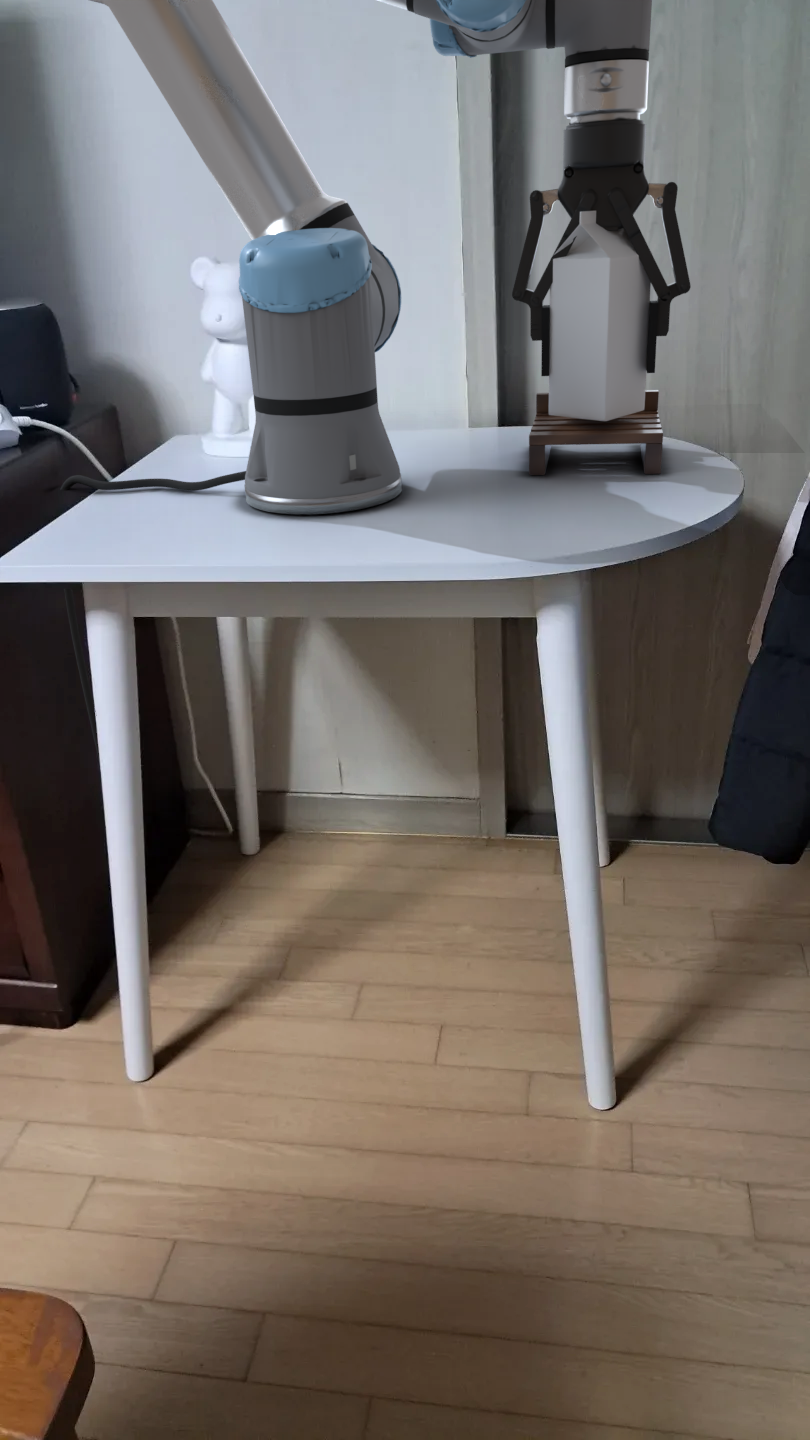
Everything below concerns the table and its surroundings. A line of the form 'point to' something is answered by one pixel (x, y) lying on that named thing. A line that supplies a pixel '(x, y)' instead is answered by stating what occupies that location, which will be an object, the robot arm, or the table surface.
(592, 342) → the milk carton
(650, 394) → the wooden bench
